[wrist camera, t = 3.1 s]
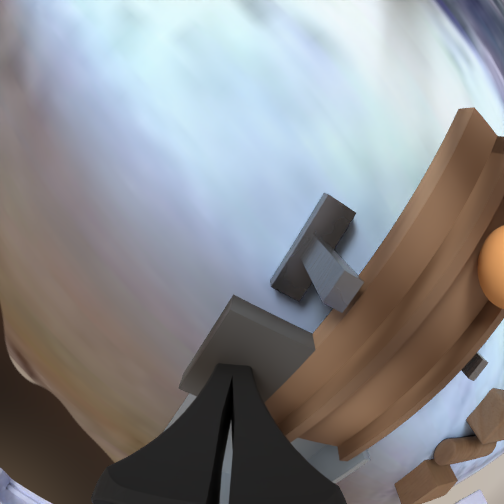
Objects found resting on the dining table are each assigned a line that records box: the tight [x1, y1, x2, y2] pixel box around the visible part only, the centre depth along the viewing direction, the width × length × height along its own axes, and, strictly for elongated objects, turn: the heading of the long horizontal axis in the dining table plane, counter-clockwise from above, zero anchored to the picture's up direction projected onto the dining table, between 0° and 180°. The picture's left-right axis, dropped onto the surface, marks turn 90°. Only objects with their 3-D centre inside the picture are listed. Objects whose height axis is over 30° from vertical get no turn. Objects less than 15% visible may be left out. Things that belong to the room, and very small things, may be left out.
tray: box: [163, 393, 370, 504], centre depth 16 cm, size 12×12×4 cm
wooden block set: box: [395, 388, 504, 504], centre depth 18 cm, size 17×6×18 cm
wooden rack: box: [179, 108, 504, 461], centre depth 9 cm, size 16×12×3 cm
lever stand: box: [270, 193, 488, 381], centre depth 12 cm, size 5×11×6 cm, turn 60°
